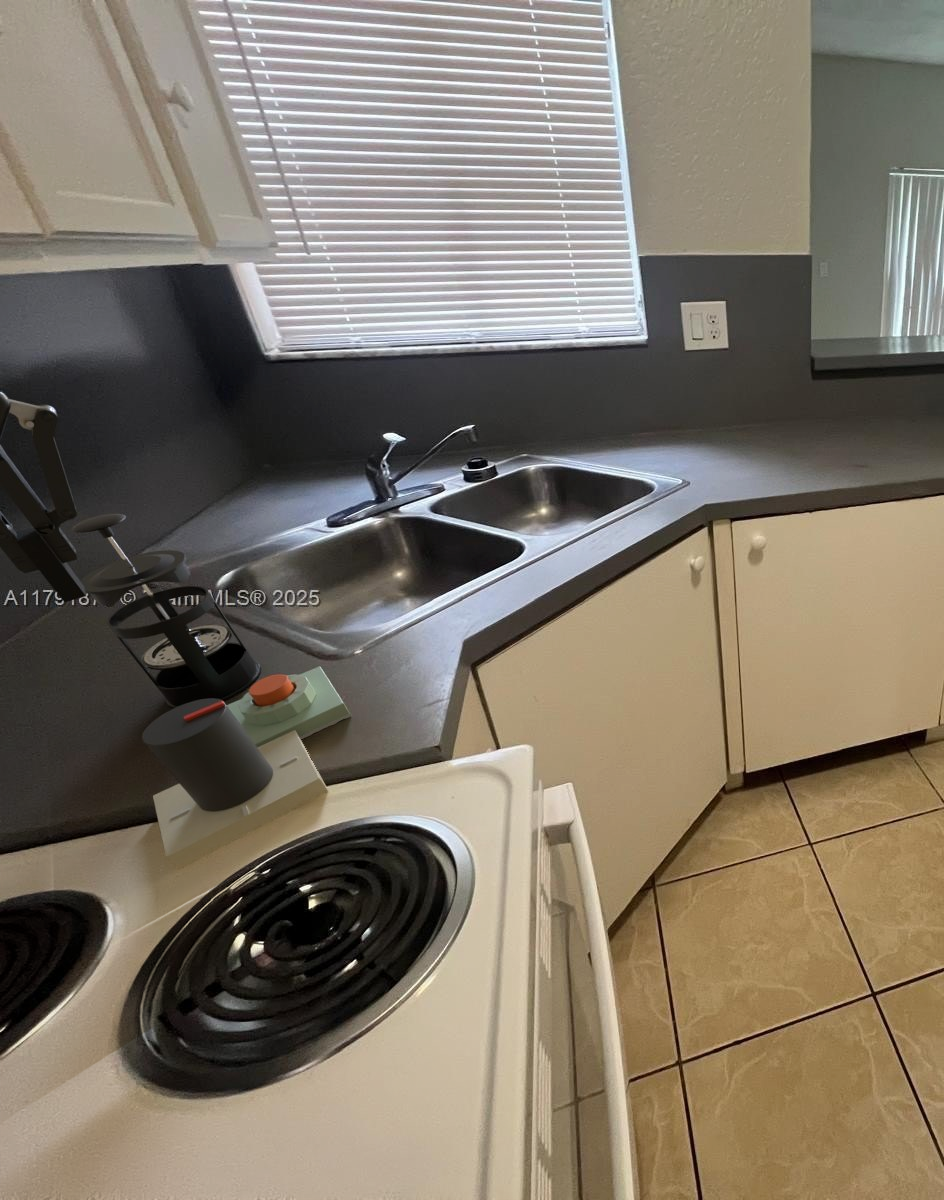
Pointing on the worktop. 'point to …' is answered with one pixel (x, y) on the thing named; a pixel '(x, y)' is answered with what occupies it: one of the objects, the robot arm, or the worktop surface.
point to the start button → (271, 690)
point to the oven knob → (209, 754)
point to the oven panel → (207, 831)
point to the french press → (170, 623)
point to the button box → (291, 709)
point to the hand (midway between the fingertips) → (74, 593)
